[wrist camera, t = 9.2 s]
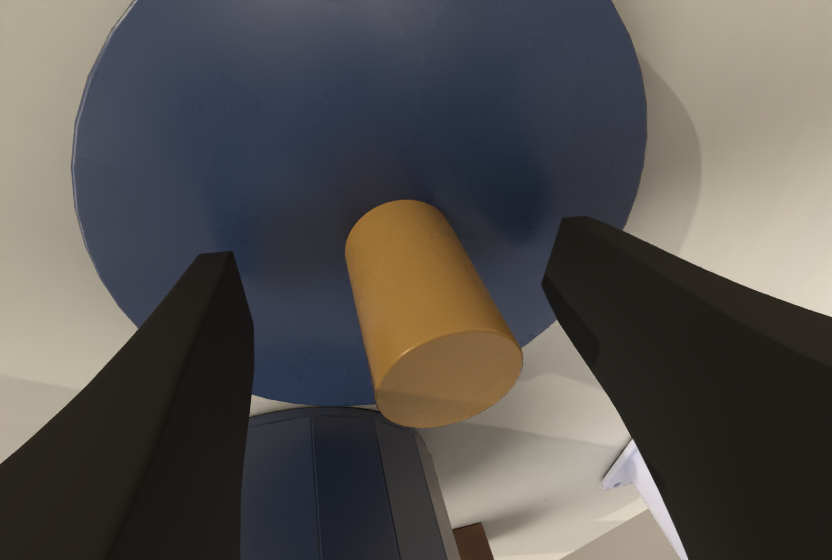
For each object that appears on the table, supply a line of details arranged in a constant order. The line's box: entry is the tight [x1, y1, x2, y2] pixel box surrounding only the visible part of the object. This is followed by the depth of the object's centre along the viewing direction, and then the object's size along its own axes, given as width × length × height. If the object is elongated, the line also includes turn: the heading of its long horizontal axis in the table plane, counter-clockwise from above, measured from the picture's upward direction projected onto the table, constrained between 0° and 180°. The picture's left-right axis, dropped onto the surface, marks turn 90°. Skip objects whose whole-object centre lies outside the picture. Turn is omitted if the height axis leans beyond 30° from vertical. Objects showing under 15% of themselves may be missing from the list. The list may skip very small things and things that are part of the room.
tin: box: [240, 407, 461, 560], centre depth 16 cm, size 12×12×5 cm
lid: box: [71, 0, 647, 428], centre depth 9 cm, size 13×13×5 cm
